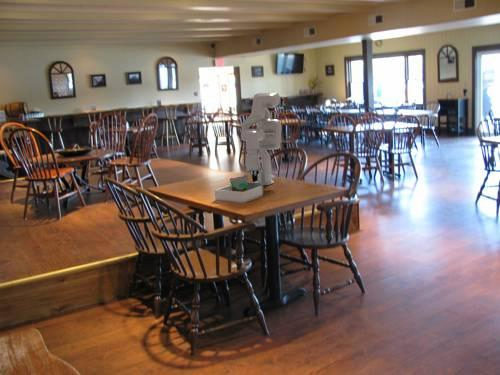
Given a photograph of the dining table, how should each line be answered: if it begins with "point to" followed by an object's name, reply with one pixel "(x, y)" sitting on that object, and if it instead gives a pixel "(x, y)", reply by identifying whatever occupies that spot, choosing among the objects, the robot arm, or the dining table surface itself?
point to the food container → (239, 183)
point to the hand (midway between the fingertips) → (255, 181)
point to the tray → (251, 186)
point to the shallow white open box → (237, 194)
